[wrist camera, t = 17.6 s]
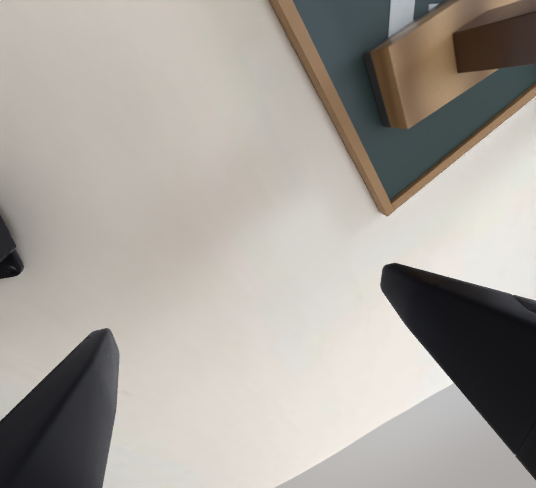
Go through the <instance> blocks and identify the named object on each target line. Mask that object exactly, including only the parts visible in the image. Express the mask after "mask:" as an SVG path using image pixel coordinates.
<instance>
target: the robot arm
mask: <svg viewBox="0 0 536 488" xmlns="http://www.w3.org/2000/svg"><path fill="white" fill-rule="evenodd" d="M15 248H16V245H15V243H14V241H13V239H12V237H11V235H10V233H9V231H8V229H7V227H6V225H5V223H4V221H3V219H2V217H1V215H0V279H3V278H8V277H14V276H17V275H19V274H20V273H21V272H22V271H23V269H24V266H23V264H22V262H21V260H20V258H19V256H18V254H17V252H16V250H15ZM9 266H13V267H15V268H16V270H12V269H11V268H10V267H9ZM380 286H381V290H382V292H383V293H384V295H385V296H386V297H387V299H388V300H389V302H390V303H391V305H392V306H393V308H394V309H395V311H396V312H397V313H398V315H399V316H400V318H401V319H402V321H403V322H404V323H405V325H406V326H407V327H408V329H409V330H410V331H411V332H412V333H413V335H414V336H415V337H416V338H417V339H418V341H419V342H420V343H421V344H422V345H423V346H424V348H425V349H426V350H427V351H428V352H429V354H430V355H431V356H432V357H433V358H434V360H435V361H436V362H437V363H438V364H439V366H440V367H441V368H442V369H443V370H444V371H445V373H446V374H447V375H448V376H449V377H450V379H451V380H452V381H453V382H454V383H455V384H456V386H457V387H458V388H459V389H460V390H461V392H462V393H463V394H464V395H465V396H466V397H467V399H468V400H469V401H470V402H471V404H472V405H473V406H474V407H475V408H476V409H477V411H478V412H479V413H480V414H481V415H482V417H483V418H484V419H485V420H486V421H487V422H488V424H489V425H490V426H491V427H492V428H493V430H494V431H495V432H496V433H497V434H498V436H499V437H500V438H501V439H502V440H503V442H504V443H505V444H506V445H507V446H508V448H509V449H510V450H511V451H512V452H513V453H514V454H515V455H516V457H517V459H518V460H519V461H520V462H521V463H522V465H523V466H524V467H525V468H526V469H527V470H528V472H529V473H530V474H531V475H532V476H533V477H534V479H535V480H536V301H535V300H531V299H528V298H524V297H520V296H517V295H512V294H509V293H505V292H502V291H498V290H494V289H490V288H487V287H483V286H479V285H476V284H472V283H468V282H464V281H461V280H457V279H453V278H450V277H446V276H442V275H438V274H435V273H431V272H427V271H424V270H420V269H416V268H412V267H409V266H405V265H401V264H398V263H392V264H387V265H385V266H384V267H383V270H382V276H381V283H380ZM118 372H119V350H118V347H117V344H116V342H115V339H114V337H113V334H112V332H111V330H110V329H108V328H105V329H101V330H96V331H93V332H92V333H90V334H89V335H88V336H87V337H86V338H85V339H84V340H83V341H82V342H81V343H80V344H79V345H78V346H77V347H76V348H75V349H74V350H73V351H72V352H71V353H70V354H69V355H68V356H67V357H66V358H65V359H64V360H63V361H62V362H61V363H60V364H58V365H57V366H56V367H55V368H54V369H53V370H52V371H51V372H50V373H49V374H48V375H47V376H46V377H45V378H44V379H43V380H42V381H41V382H40V383H39V384H38V385H37V386H36V387H35V388H34V389H33V390H32V391H31V392H30V393H29V394H28V395H27V396H26V397H25V398H24V399H23V400H21V401H20V402H19V403H18V404H17V405H16V406H15V407H14V408H13V409H12V410H11V411H10V412H9V413H8V414H7V415H6V416H5V417H4V418H3V419H2V420H1V421H0V488H102V486H103V481H104V475H105V469H106V464H107V458H108V453H109V447H110V442H111V436H112V430H113V425H114V419H115V413H116V404H117V389H118Z"/></svg>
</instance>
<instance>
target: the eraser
mask: <svg viewBox="0 0 536 488" xmlns="http://www.w3.org/2000/svg"><path fill="white" fill-rule="evenodd" d="M363 56H364V60H365V63H366V67H367V70H368V74H369V77H370V81H371V84H372V88H373V91H374V95H375V98H376V102H377V105H378V109H379V112H380V116H381V119H382V123H383V126H384V127H389V128H390V127H391V128H401V129H409V128H411V127H412V126H414V125H415V124H417V123H418V122H420V121H421V120H423V119H424V118H426V117H427V116H429V115H430V114H432V113H433V112H435V111H436V110H438V109H439V108H441V107H442V106H444V105H445V104H447V103H448V102H450V101H451V100H453V99H454V98H456V97H457V96H459V95H460V94H462V93H463V92H465V91H466V90H468V89H469V88H471V87H472V86H474V85H475V84H477V83H478V82H480V81H481V80H483V79H484V78H486V77H487V76H489V75H490V74H492V73H493V72H495V71H496V70H498V69H500V68H509V67H517V66H526V65H534V64H536V0H444V1H442V2H441V3H439V4H438V5H436V6H435V7H433V8H432V9H430V10H429V11H427V12H426V13H424V14H423V15H421V16H419V17H418V18H416V19H415V20H413V21H412V22H410V23H409V24H407V25H406V26H404V27H403V28H401V29H400V30H398V31H397V32H395V33H394V34H392V35H391V36H389V37H388V38H386V39H385V40H383V41H382V42H380V43H379V44H377V45H375V46H374V47H372V48H371V49H369V50H368V51H366V52H365V53H364V54H363Z"/></svg>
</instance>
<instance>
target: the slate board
mask: <svg viewBox="0 0 536 488" xmlns="http://www.w3.org/2000/svg"><path fill="white" fill-rule="evenodd" d="M269 1H270V3H271V5H272V7H273V9H274V11H275V12H276V14H277V16H278V18H279V20H280V22H281V24H282V26H283V28H284V30H285V32H286V33H287V35H288V37H289V39H290V41H291V43H292V45H293V47H294V49H295V51H296V53H297V54H298V56H299V58H300V60H301V62H302V64H303V66H304V68H305V70H306V72H307V74H308V75H309V77H310V79H311V81H312V83H313V85H314V87H315V89H316V91H317V93H318V94H319V96H320V98H321V100H322V102H323V104H324V106H325V108H326V110H327V112H328V114H329V115H330V117H331V119H332V121H333V123H334V125H335V127H336V129H337V131H338V133H339V135H340V136H341V138H342V140H343V142H344V144H345V146H346V148H347V150H348V152H349V154H350V156H351V157H352V159H353V161H354V163H355V165H356V167H357V169H358V171H359V173H360V175H361V177H362V178H363V180H364V182H365V184H366V186H367V188H368V190H369V192H370V194H371V196H372V198H373V199H374V201H375V203H376V205H377V207H378V209H379V211H380V213H382V214H384V215H386V216H389V215H390V214H391V213H392V212H393V211H394V210H396V209H397V208H398V207H399V206H401V205H402V204H403V203H404V202H406V201H407V200H408V199H409V198H410V197H412V196H413V195H414V194H415V193H417V192H418V191H419V190H420V189H422V188H423V187H424V186H425V185H427V184H428V183H429V182H430V181H431V180H433V179H434V178H435V177H436V176H438V175H439V174H440V173H441V172H443V171H444V170H445V169H446V168H448V167H449V166H450V165H451V164H452V163H454V162H455V161H456V160H457V159H459V158H460V157H461V156H462V155H464V154H465V153H466V152H467V151H468V150H470V149H471V148H472V147H473V146H475V145H476V144H477V143H478V142H480V141H481V140H482V139H483V138H485V137H486V136H487V135H488V134H489V133H491V132H492V131H493V130H494V129H496V128H497V127H498V126H499V125H501V124H502V123H503V122H504V121H505V120H507V119H508V118H509V117H510V116H512V115H513V114H514V113H515V112H517V111H518V110H519V109H520V108H522V107H523V106H524V105H525V104H526V103H528V102H529V101H530V100H531V99H533V98H534V97H535V96H536V64H534V65H526V66H517V67H509V68H500V69H498V70H496V71H495V72H493V73H492V74H490V75H489V76H487V77H486V78H484V79H483V80H481V81H480V82H478V83H477V84H475V85H474V86H472V87H471V88H469V89H468V90H466V91H465V92H463V93H462V94H460V95H459V96H457V97H456V98H454V99H453V100H451V101H450V102H448V103H447V104H445V105H444V106H442V107H441V108H439V109H438V110H436V111H435V112H433V113H432V114H430V115H429V116H427V117H426V118H424V119H423V120H421V121H420V122H418V123H417V124H415V125H414V126H412V127H411V128H409V129H401V128H391V127H390V128H389V127H384V126H383V123H382V119H381V116H380V112H379V109H378V105H377V102H376V98H375V95H374V91H373V88H372V84H371V81H370V77H369V74H368V70H367V67H366V63H365V60H364V56H363V54H364V53H365V52H366V51H368V50H369V49H371V48H372V47H374V46H375V45H377V44H379V43H380V42H382V41H383V40H385V39H386V38H388V37H389V36H391V35H392V34H394V33H395V32H397V31H398V30H400V29H401V28H403V27H404V26H406V25H407V24H409V23H410V22H412V21H413V20H415V19H416V18H418V17H419V16H421V15H423V14H424V13H426V12H427V11H429V10H430V9H432V8H433V7H435V6H436V5H438V4H439V3H441V2H442V1H444V0H269Z"/></svg>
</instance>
